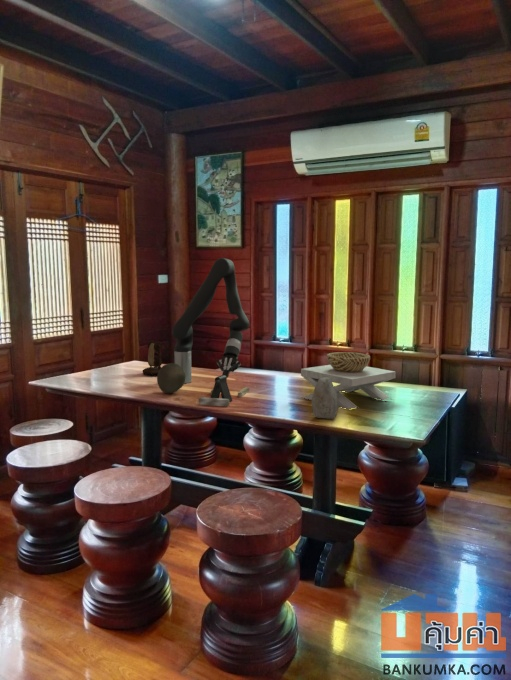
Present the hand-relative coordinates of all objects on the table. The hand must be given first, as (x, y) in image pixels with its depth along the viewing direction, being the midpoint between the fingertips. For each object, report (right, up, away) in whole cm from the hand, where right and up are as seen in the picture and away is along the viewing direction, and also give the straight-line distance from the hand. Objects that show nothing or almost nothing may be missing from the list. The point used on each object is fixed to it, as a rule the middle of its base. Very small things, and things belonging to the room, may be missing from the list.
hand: (224, 377), depth 257 cm
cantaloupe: (-27, -8, +6) cm, 29 cm away
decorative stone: (+46, -14, -32) cm, 58 cm away
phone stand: (-1, -11, -9) cm, 14 cm away
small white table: (+60, -11, -1) cm, 61 cm away
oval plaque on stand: (-45, -2, +56) cm, 71 cm away
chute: (0, -9, -1) cm, 10 cm away
